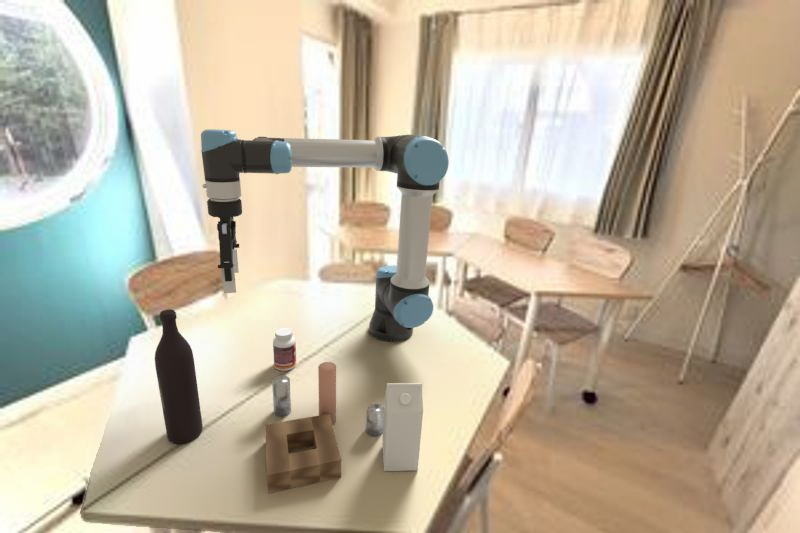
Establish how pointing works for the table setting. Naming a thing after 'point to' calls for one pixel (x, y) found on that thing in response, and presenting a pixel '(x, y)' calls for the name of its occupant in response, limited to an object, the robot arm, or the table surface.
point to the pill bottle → (284, 349)
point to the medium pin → (281, 396)
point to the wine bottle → (177, 383)
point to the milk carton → (402, 426)
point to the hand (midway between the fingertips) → (231, 282)
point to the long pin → (327, 390)
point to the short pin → (375, 420)
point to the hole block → (305, 464)
